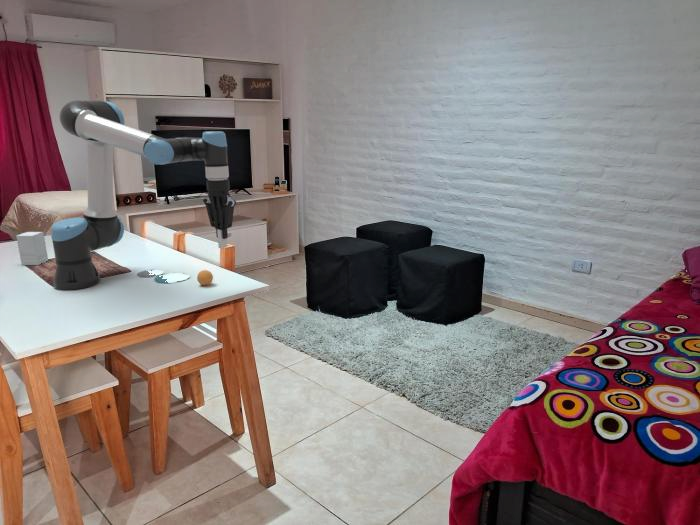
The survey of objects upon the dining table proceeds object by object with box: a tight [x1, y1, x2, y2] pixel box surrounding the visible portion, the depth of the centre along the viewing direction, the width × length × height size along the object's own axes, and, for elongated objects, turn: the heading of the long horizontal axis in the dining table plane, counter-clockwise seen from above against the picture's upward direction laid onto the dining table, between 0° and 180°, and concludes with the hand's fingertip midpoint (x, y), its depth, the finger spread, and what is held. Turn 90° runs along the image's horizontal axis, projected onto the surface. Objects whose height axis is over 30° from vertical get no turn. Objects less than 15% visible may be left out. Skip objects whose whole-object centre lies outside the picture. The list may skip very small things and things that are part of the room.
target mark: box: [153, 276, 169, 284], centre depth 202 cm, size 13×13×1 cm
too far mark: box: [136, 269, 157, 278], centre depth 208 cm, size 10×10×1 cm
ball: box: [196, 269, 214, 286], centre depth 193 cm, size 6×6×6 cm
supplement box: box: [15, 231, 49, 266], centre depth 222 cm, size 7×7×13 cm
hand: (222, 247), depth 185 cm, fingers closed
